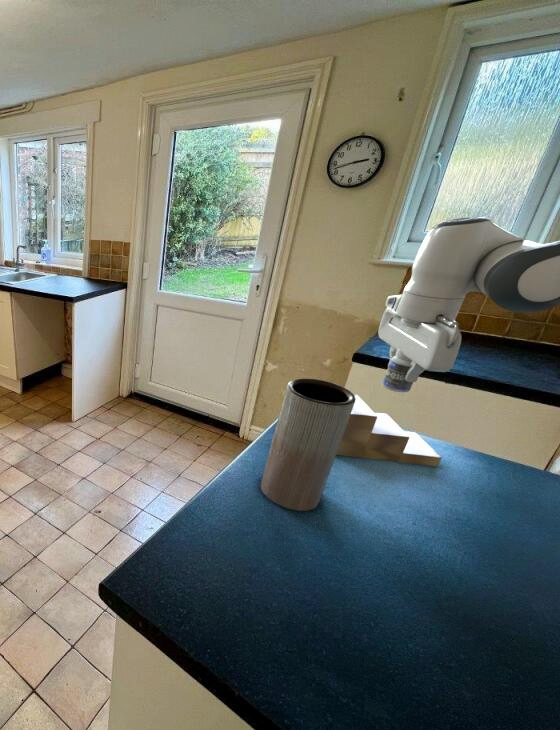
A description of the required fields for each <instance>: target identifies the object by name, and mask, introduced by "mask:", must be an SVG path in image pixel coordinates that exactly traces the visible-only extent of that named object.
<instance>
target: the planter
mask: <svg viewBox="0 0 560 730" xmlns="http://www.w3.org/2000/svg"><path fill="white" fill-rule="evenodd" d="M354 395H355V394H354V393H353V392H352V391H351V390H349V389H348V388H346V387H344V386H342V385H340V384H337V383H334V382H331V381H326V380H322V379H316V378H297V379H293V380H291V381H289V382H288V383H287V386H286V389H285V392H284V396H283V399H282V402H281V403H282V404H281V407H280V410H279V414H278V418H277V421H276V425H275V429H274V432H273V436H272V440H271V443H270V447H269V451H268V455H267V459H266V462H265V465H264V470H263V474H262V476H261V481H260V489H261V491H262V493H263V494H264V496H266V497H267V498H268V499H269V500H270V501H272V502H274V503H275V504H276V505H279V506H281V507H283V508H286V509H289V510H294V511H302V512H303V511H304V512H305V511H311V510H314V509H316V508H317V507H318V505H319V504H320V501H321V499H322V495H323V493H324V490H325V487H326V484H327V483H328V479H329V476H330V474H331V472H332V468H333V466H334V462H335V459H336V458H337V457H336V456H337V451H338V448H339V446H340V443H341V440H342V437H343V434H344V432H345V429H346V426H347V423H348V420H349V418H350V415H351V412H352V409H353V406H354V404H355V400H356V398H355V396H354Z"/></svg>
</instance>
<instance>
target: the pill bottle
mask: <svg viewBox="0 0 560 730" xmlns="http://www.w3.org/2000/svg"><path fill="white" fill-rule="evenodd" d="M389 361H390V360H389ZM411 363H412V360H411V359H409V358H408V357H407V356H405V355H404V354H403V351H401V350H400V349H398V350H397V352H396V356H394V357H393V358H392V359H391V361H390V364H389V363H388V364H389V367H388V366H387V369H386V371H385V375H384V377H383V380H382V382H381V386H382V387H383V388H385V389H386V390H389V391H391V392H395V393H408V392H410V390H411V389H412V386H413V384H414V382H407V381H406V380H405V379H404V378H403V375H404V372H405V371H409V369H410V368H411V367H412V365H411Z"/></svg>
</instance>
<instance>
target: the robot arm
mask: <svg viewBox="0 0 560 730" xmlns="http://www.w3.org/2000/svg"><path fill="white" fill-rule="evenodd" d="M471 292H475V293H476V292H477V293H478V292H479V293H481V294H484V295H485V296H486V297H488V298H489V299H490V300H491V301H492V302H493V303H494V304H495V305H496V306H498V307H499V308H501V309H503V310H506V311H508V312H513V313H518V314H519V313H520V314H530V313H539V312H545V311H547V310H551V309H553V308H555V307H558V306H560V240H557V241H553V242H549V243H540V242H536V241H532V240H530V239H526V238H524V237H521V236H518V235H516V234H514V233H511V232H510V231H508V230H505V229H504V228H502V227H501V226H499V225H497V224H496V223H495V222H493V220H492V219H491V218H488V217H482V216H480V217H479V216H477V217H476V216H475V217H461V218H453V219H448V220H444V221H441V222H439V223H436V224H435V225H434V226H432V227H431V228H430V230H429V231H428V233H427V234H426V235H425V237H424V239H423V241H422V243H421V245H420V247H419V249H418V251H417V254H416V256H415V257H414V262H413V264H412V267H411V277H410V279H409V280H408V282H407V284H406V285H405V287H404V289H403V291H402V293H401V294H396V295H389V296H388V297H387V298H386V300H385V304H384V305H385V307H386V309H385V310H384V311H383V314H382V317H381V320H380V323H379V326H378V330H377V331H378V338H379V339H380V340H382V341H383V342H385V343H386V344H387V345H389V346H390V348H389V362H388V363H387V368H388V367H389V364H390V361H391V359H392V358H393V357H394V356H396V352H397V350H398V349H400V350H401V351H403V354H404V355H405V356H407V357H408V358H409V359H411V360H412V363H411V365H412V367H411V368H410V369H409V371H405V372H404V375H403V378H404V379H405V380H406V381H407V382H413V383H416V382H417V381H418V379H419V377H420V375H421V374H422V373H424V372H425V371H428V372H438V373H447V372H449V371H450V370H451V369H452V368H453V367H454V365H455V362H456V360H457V356H458V354H459V350H460V348H461V344H462V337H463V336H462V333H461V330H460V328H459V322H458V321H456V319H457V316H458V314H459V312H460V309H461V308H462V305H463V302H464V300H465V299H466V295H467V294H469V293H471Z"/></svg>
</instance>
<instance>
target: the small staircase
mask: <svg viewBox="0 0 560 730" xmlns="http://www.w3.org/2000/svg"><path fill="white" fill-rule="evenodd" d="M354 396H355V398H356V400H355V404H354V406H353V409H352V412H351V415H350V418H349V420H348V423H347V426H346V429H345V432H344V434H343V437H342V440H341V443H340V446H339V448H338V451H337V454H336V456H337V455H338V456H346V457H354V458H363V459H370V460H371V459H372V460H378V461H379V460H381V461H389V462H395V463H404V464H414V465H422V466H428V467H429V466H430V467H438V466H439V464H440V462H441V460H442V457H443V456H441V455H440V454H438V453H437V451H435V449H434V448H432V447H431V445H429V444H428V443H427V442H426V441H425V440H424V439H423V437H421V436H420V435H419V433H417V432H415V431H405V430H403V428H401V427H400V426H399V425H398V423H396V422H395V420H394V419H393V418H392V417H391V416H390V415H388V414H387V413H382V412H374V411H373V409H371V408H370V407H369V405H368V404H367V403H366V401H364V400H363V399H362V398H361V397H360V396H359V395H358V394H354Z"/></svg>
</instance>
